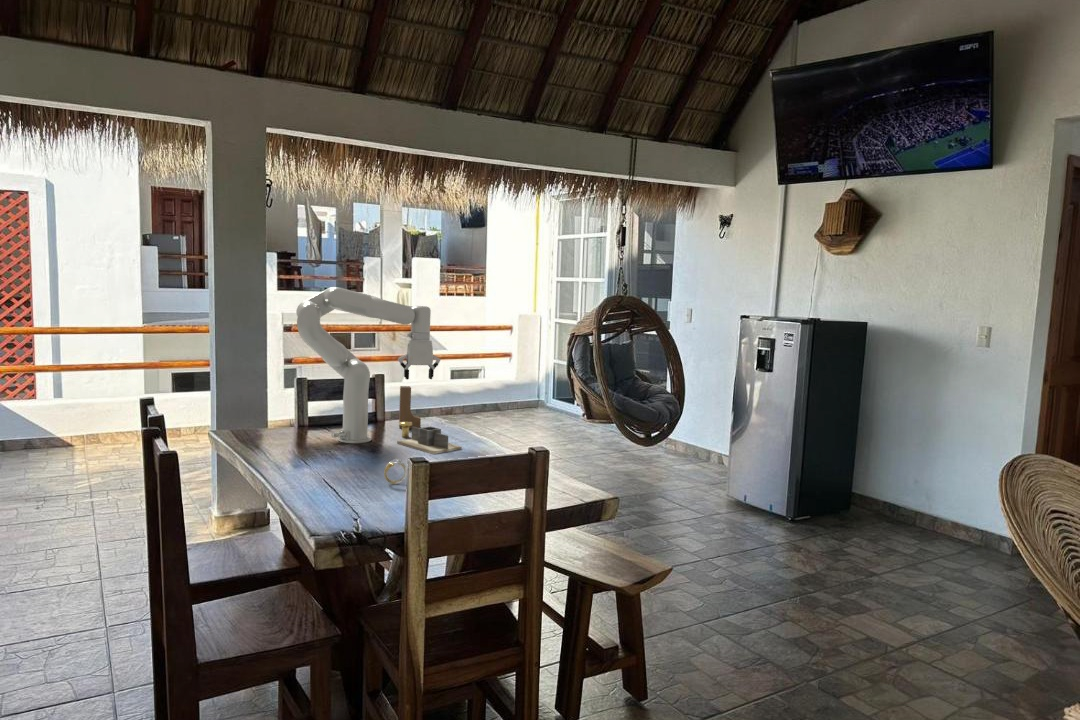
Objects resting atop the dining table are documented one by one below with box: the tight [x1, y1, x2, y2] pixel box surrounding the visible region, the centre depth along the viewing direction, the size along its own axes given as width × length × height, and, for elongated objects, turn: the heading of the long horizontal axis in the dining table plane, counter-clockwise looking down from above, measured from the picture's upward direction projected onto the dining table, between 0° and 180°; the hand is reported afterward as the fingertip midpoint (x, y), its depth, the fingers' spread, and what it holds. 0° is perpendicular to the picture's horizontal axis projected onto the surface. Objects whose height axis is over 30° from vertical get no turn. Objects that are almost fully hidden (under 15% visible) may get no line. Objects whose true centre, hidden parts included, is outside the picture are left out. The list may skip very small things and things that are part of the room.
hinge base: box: [396, 426, 463, 455], centre depth 281 cm, size 14×22×7 cm, turn 48°
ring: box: [383, 458, 408, 485], centre depth 227 cm, size 7×3×8 cm, turn 105°
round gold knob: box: [398, 421, 412, 439], centre depth 296 cm, size 5×5×6 cm
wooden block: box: [398, 385, 422, 430], centre depth 314 cm, size 9×4×18 cm, turn 103°
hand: (418, 379), depth 293 cm, fingers open, 9 cm apart
